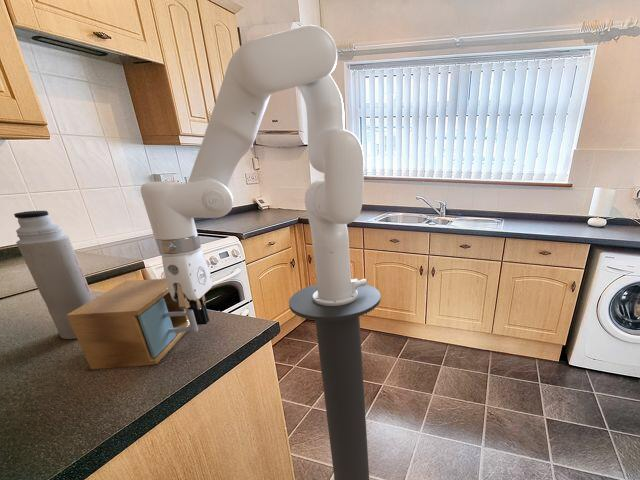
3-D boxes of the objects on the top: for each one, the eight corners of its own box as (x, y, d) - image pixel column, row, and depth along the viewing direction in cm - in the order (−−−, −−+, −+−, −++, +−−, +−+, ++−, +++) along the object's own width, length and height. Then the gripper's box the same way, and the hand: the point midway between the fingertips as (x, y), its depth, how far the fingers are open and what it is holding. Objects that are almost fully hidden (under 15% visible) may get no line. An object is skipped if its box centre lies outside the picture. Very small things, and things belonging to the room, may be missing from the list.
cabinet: (194, 323, 84) (181, 277, 79) (156, 364, 67) (137, 310, 63) (142, 326, 82) (125, 280, 77) (90, 369, 66) (65, 314, 61)
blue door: (203, 333, 76) (192, 295, 72) (185, 355, 68) (172, 313, 64) (173, 336, 75) (161, 297, 72) (152, 357, 67) (137, 315, 64)
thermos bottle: (102, 319, 86) (56, 207, 74) (106, 330, 80) (57, 211, 69) (60, 330, 81) (4, 211, 69) (61, 342, 75) (0, 216, 64)
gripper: (181, 253, 63) (205, 338, 71) (212, 235, 77) (229, 308, 84) (138, 255, 62) (166, 341, 70) (177, 237, 76) (197, 310, 83)
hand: (201, 323), depth 77 cm, fingers closed
